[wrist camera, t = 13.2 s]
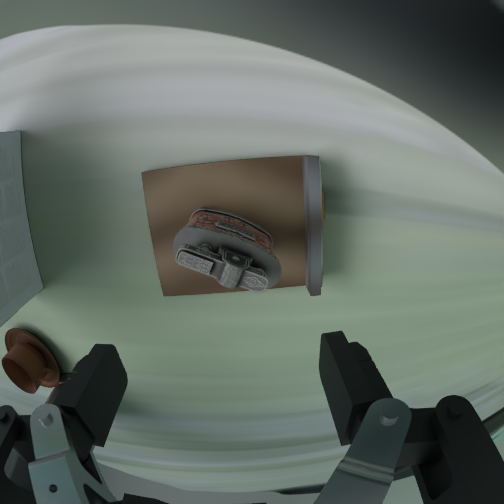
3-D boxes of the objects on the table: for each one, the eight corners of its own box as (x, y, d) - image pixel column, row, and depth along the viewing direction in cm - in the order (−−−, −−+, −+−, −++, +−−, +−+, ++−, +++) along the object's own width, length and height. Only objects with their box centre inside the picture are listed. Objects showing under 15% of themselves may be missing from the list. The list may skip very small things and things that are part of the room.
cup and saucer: (38, 319, 32) (16, 342, 26) (76, 380, 36) (62, 406, 30) (1, 326, 33) (-19, 345, 27) (35, 380, 37) (20, 401, 31)
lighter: (277, 230, 27) (295, 272, 18) (263, 261, 28) (273, 316, 19) (197, 199, 26) (172, 227, 17) (186, 232, 27) (157, 275, 18)
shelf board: (317, 278, 30) (326, 294, 27) (166, 291, 30) (158, 307, 27) (315, 155, 26) (325, 155, 23) (145, 171, 26) (132, 174, 23)
